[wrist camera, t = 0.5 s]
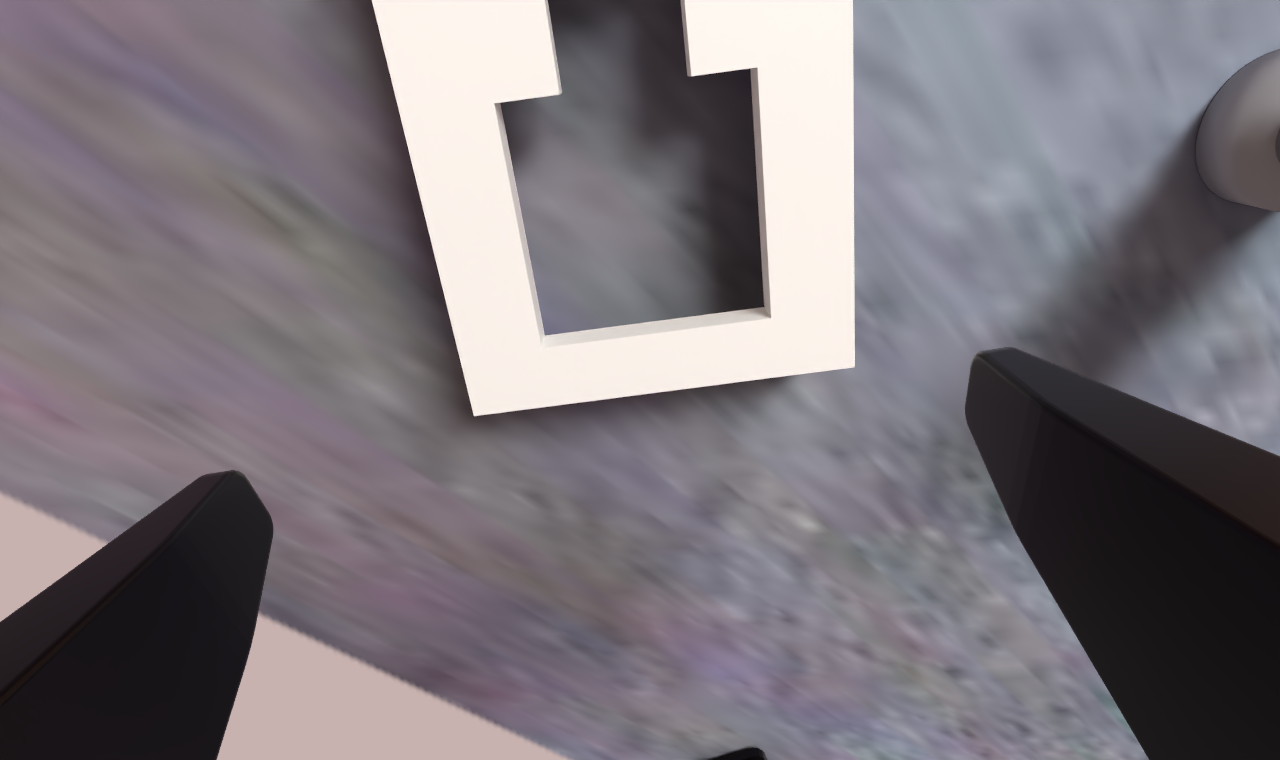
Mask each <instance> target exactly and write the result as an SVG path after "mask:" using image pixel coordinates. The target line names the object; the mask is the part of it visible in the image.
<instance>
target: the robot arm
mask: <svg viewBox="0 0 1280 760" xmlns="http://www.w3.org/2000/svg"><path fill="white" fill-rule="evenodd" d="M965 415H966V420H967V424H968V427H969V429H970V431H971V434H972V436H973V438H974V440H975V443H976V445H977V447H978V450H979V452H980V454H981V456H982V459H983V461H984V463H985V465H986V468H987V470H988V472H989V475H990V477H991V479H992V481H993V484H994V486H995V488H996V490H997V493H998V495H999V497H1000V500H1001V502H1002V504H1003V506H1004V509H1005V511H1006V513H1007V515H1008V517H1009V520H1010V522H1011V524H1012V526H1013V528H1014V530H1015V532H1016V534H1017V536H1018V537H1019V539H1020V541H1021V543H1022V545H1023V546H1024V548H1025V550H1026V552H1027V553H1028V555H1029V557H1030V558H1031V560H1032V562H1033V563H1034V565H1035V567H1036V569H1037V570H1038V572H1039V574H1040V575H1041V577H1042V579H1043V580H1044V582H1045V584H1046V586H1047V587H1048V589H1049V591H1050V592H1051V594H1052V596H1053V597H1054V599H1055V601H1056V602H1057V604H1058V606H1059V608H1060V609H1061V611H1062V613H1063V614H1064V616H1065V618H1066V619H1067V621H1068V623H1069V625H1070V626H1071V628H1072V630H1073V631H1074V633H1075V635H1076V636H1077V638H1078V640H1079V641H1080V643H1081V645H1082V647H1083V648H1084V650H1085V652H1086V653H1087V655H1088V657H1089V658H1090V660H1091V662H1092V664H1093V665H1094V667H1095V669H1096V670H1097V672H1098V674H1099V675H1100V677H1101V679H1102V680H1103V682H1104V684H1105V686H1106V687H1107V689H1108V691H1109V692H1110V694H1111V696H1112V697H1113V699H1114V701H1115V702H1116V704H1117V706H1118V708H1119V709H1120V711H1121V713H1122V714H1123V716H1124V718H1125V719H1126V721H1127V723H1128V725H1129V726H1130V728H1131V730H1132V731H1133V733H1134V735H1135V736H1136V738H1137V740H1138V741H1139V743H1140V745H1141V747H1142V748H1143V750H1144V752H1145V753H1146V755H1147V757H1148V758H1149V760H1280V456H1278V455H1275V454H1273V453H1270V452H1268V451H1266V450H1263V449H1261V448H1258V447H1256V446H1253V445H1251V444H1248V443H1246V442H1243V441H1241V440H1239V439H1236V438H1234V437H1231V436H1229V435H1226V434H1224V433H1221V432H1219V431H1217V430H1214V429H1212V428H1209V427H1207V426H1204V425H1202V424H1199V423H1197V422H1194V421H1192V420H1190V419H1187V418H1185V417H1182V416H1180V415H1177V414H1175V413H1172V412H1170V411H1168V410H1165V409H1163V408H1160V407H1158V406H1155V405H1153V404H1150V403H1148V402H1145V401H1143V400H1141V399H1138V398H1136V397H1133V396H1131V395H1128V394H1126V393H1123V392H1121V391H1119V390H1116V389H1114V388H1111V387H1109V386H1106V385H1104V384H1101V383H1099V382H1096V381H1094V380H1092V379H1089V378H1087V377H1084V376H1082V375H1079V374H1077V373H1074V372H1072V371H1070V370H1067V369H1065V368H1062V367H1060V366H1057V365H1055V364H1052V363H1050V362H1047V361H1045V360H1043V359H1040V358H1038V357H1035V356H1033V355H1030V354H1028V353H1025V352H1023V351H1021V350H1018V349H1015V348H1012V347H1005V348H999V349H993V350H987V351H981V352H979V353H977V354H976V355H975V356H974V358H973V360H972V363H971V368H970V375H969V382H968V390H967V397H966V404H965ZM272 538H273V522H272V519H271V516H270V514H269V512H268V511H267V509H266V508H265V506H264V504H263V503H262V501H261V500H260V498H259V496H258V495H257V493H256V492H255V490H254V489H253V487H252V485H251V484H250V482H249V481H248V479H247V478H246V476H245V475H244V474H242V473H241V472H239V471H235V470H230V471H224V472H218V473H211V474H206V475H203V476H201V477H199V478H198V479H196V480H195V481H194V482H192V483H191V484H190V485H188V486H187V487H185V488H184V489H183V490H181V491H180V492H179V493H177V494H176V495H174V496H173V497H172V498H170V499H169V500H168V501H166V502H165V503H163V504H162V505H161V506H159V507H158V508H157V509H155V510H154V511H152V512H151V513H150V514H148V515H147V516H146V517H144V518H143V519H141V520H140V521H139V522H137V523H136V524H134V525H133V526H132V527H130V528H129V529H128V530H126V531H125V532H123V533H122V534H121V535H119V536H118V537H117V538H115V539H114V540H112V541H111V542H110V543H108V544H107V545H106V546H104V547H103V548H102V549H100V550H99V551H97V552H96V553H95V554H93V555H92V556H91V557H89V558H88V559H86V560H85V561H84V562H82V563H81V564H79V565H78V566H77V567H75V568H74V569H73V570H71V571H70V572H68V573H67V574H66V575H64V576H63V577H62V578H60V579H59V580H57V581H56V582H55V583H53V584H52V585H51V586H49V587H48V588H47V589H45V590H44V591H42V592H41V593H40V594H38V595H37V596H35V597H34V598H33V599H31V600H30V601H29V602H27V603H26V604H25V605H23V606H22V607H20V608H19V609H18V610H16V611H15V612H14V613H12V614H11V615H9V616H8V617H7V618H5V619H4V620H2V621H1V622H0V760H216V759H217V756H218V753H219V750H220V747H221V743H222V740H223V737H224V734H225V730H226V727H227V724H228V721H229V717H230V714H231V710H232V708H233V705H234V701H235V698H236V695H237V691H238V688H239V685H240V682H241V679H242V675H243V672H244V669H245V666H246V662H247V659H248V655H249V651H250V648H251V644H252V639H253V635H254V631H255V626H256V621H257V616H258V611H259V606H260V600H261V595H262V590H263V585H264V580H265V575H266V569H267V564H268V559H269V554H270V549H271V544H272ZM715 760H767V758H766V756H765V754H764V752H763V751H762V750H760V749H758V748H751V749H747V750H744V751H741V752H737V753H734V754H731V755H728V756H725V757H722V758H718V759H715Z"/></svg>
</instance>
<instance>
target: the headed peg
mask: <svg viewBox="0 0 1280 760" xmlns="http://www.w3.org/2000/svg"><path fill="white" fill-rule="evenodd" d="M1196 163H1197V168H1198V171H1199V174H1200V176H1201V178H1202V180H1203V182H1204V183H1205V184H1206V186H1207V187H1208V188H1209V189H1210V190H1211V191H1212V192H1213V193H1214V194H1216V195H1217V196H1219V197H1221V198H1223V199H1225V200H1228V201H1232V202H1236V203H1241V204H1245V205H1249V206H1254V207H1258V208H1263V209H1267V210H1272V211H1276V212H1280V49H1278V50H1276V51H1273V52H1270V53H1267V54H1265V55H1263V56H1261V57H1258V58H1257V59H1255V60H1253V61H1252V62H1250V63H1248V64H1247V65H1246V66H1244V67H1243V68H1242V69H1240V70H1239V71H1238V72H1237V73H1235V74H1234V75H1233V76H1232V77H1231V78H1230V79H1229V80H1228V81H1227V82H1226V83H1225V84H1224V85H1223V87H1222V88H1221V89H1220V90H1219V92H1218V93H1217V94H1216V95H1215V97H1214V98H1213V100H1212V102H1211V103H1210V105H1209V106H1208V108H1207V110H1206V112H1205V114H1204V117H1203V119H1202V122H1201V124H1200V127H1199V131H1198V135H1197V140H1196Z"/></svg>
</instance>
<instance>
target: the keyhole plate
mask: <svg viewBox="0 0 1280 760" xmlns="http://www.w3.org/2000/svg"><path fill="white" fill-rule="evenodd" d="M372 3H373V7H374V11H375V15H376V19H377V23H378V27H379V32H380V36H381V40H382V44H383V48H384V52H385V56H386V60H387V64H388V68H389V72H390V76H391V80H392V84H393V89H394V93H395V97H396V101H397V105H398V109H399V113H400V117H401V121H402V125H403V129H404V133H405V137H406V141H407V146H408V150H409V154H410V158H411V162H412V166H413V170H414V174H415V178H416V182H417V186H418V190H419V194H420V198H421V203H422V207H423V211H424V215H425V219H426V223H427V227H428V231H429V235H430V239H431V243H432V247H433V251H434V255H435V259H436V264H437V268H438V272H439V276H440V280H441V284H442V288H443V292H444V296H445V300H446V304H447V308H448V312H449V316H450V321H451V325H452V329H453V333H454V337H455V341H456V345H457V349H458V353H459V357H460V361H461V365H462V369H463V373H464V378H465V382H466V386H467V390H468V394H469V398H470V402H471V406H472V410H473V414H474V416H479V415H487V414H495V413H503V412H511V411H518V410H526V409H534V408H542V407H549V406H557V405H565V404H573V403H580V402H588V401H596V400H604V399H611V398H619V397H627V396H635V395H642V394H650V393H658V392H666V391H673V390H681V389H689V388H697V387H705V386H712V385H720V384H728V383H736V382H743V381H751V380H759V379H767V378H774V377H782V376H790V375H798V374H805V373H813V372H821V371H829V370H836V369H844V368H852V367H855V330H854V134H853V0H681V11H682V22H683V33H684V44H685V55H686V66H687V76H698V75H705V74H713V73H720V72H727V71H734V70H742V69H749V68H750V71H751V88H752V106H753V123H754V140H755V157H756V174H757V191H758V208H759V225H760V243H761V260H762V277H763V294H764V307H760V308H753V309H745V310H737V311H730V312H722V313H715V314H707V315H699V316H692V317H684V318H676V319H669V320H661V321H653V322H646V323H638V324H630V325H623V326H615V327H607V328H600V329H592V330H584V331H577V332H569V333H562V334H554V335H546V336H545V334H544V329H543V324H542V318H541V313H540V308H539V303H538V297H537V292H536V287H535V282H534V277H533V271H532V266H531V261H530V256H529V250H528V245H527V240H526V235H525V229H524V224H523V219H522V214H521V209H520V203H519V198H518V193H517V188H516V182H515V177H514V172H513V167H512V161H511V156H510V151H509V146H508V141H507V135H506V130H505V125H504V120H503V114H502V109H501V104H500V103H501V102H508V101H516V100H523V99H530V98H537V97H545V96H552V95H559V94H561V93H562V88H561V82H560V75H559V69H558V63H557V56H556V50H555V44H554V37H553V31H552V25H551V18H550V12H549V6H548V0H372Z"/></svg>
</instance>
